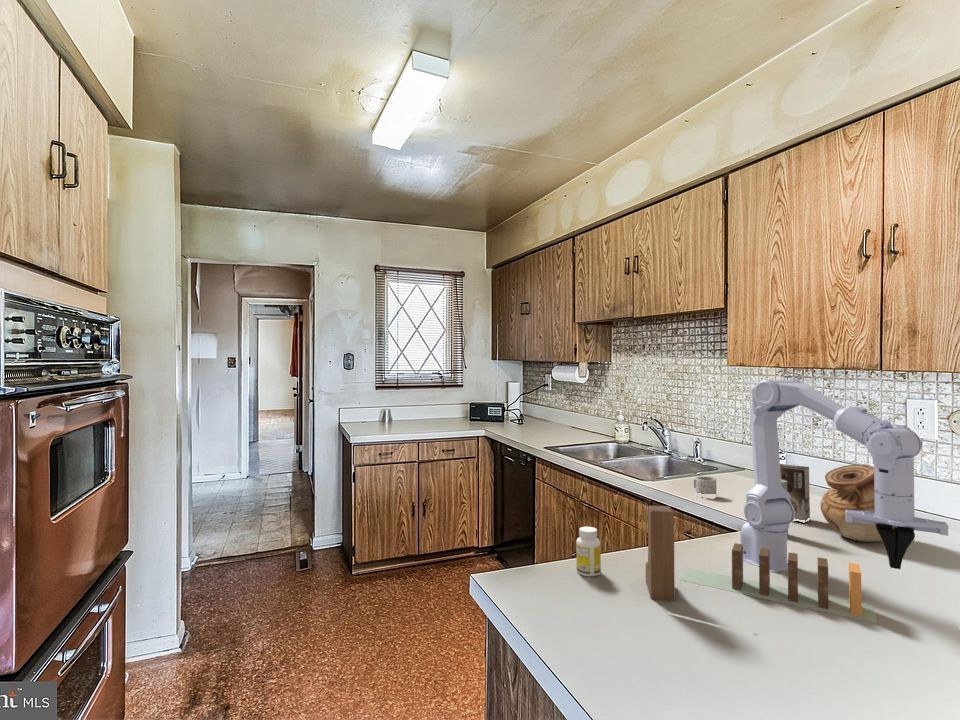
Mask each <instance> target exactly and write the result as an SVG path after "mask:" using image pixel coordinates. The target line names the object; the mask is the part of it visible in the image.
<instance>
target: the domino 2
mask: <svg viewBox="0 0 960 720" xmlns="http://www.w3.org/2000/svg"><path fill="white" fill-rule="evenodd" d="M758 573H759V574H758V578H759V580H758V582H759V594H760V595H765V596H769V589H770V585H771V583H770V582H771V581H770V580H771V578H770V577H771V576H770V575H771V572H770V549H767V548H761V549H760V553H759V567H758Z"/></svg>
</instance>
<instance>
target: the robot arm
mask: <svg viewBox="0 0 960 720" xmlns="http://www.w3.org/2000/svg"><path fill="white" fill-rule="evenodd" d="M751 401H752V402H751V406H750V409H749V415H750V417H749V418H750V429H751V430H750V433H751V444H752V445H751V447H752V457H753V458H752V461H753V474H754V475H753V476H754V478H753V479H754V485H753V487H751V489H749V490H748V491H747V493H746V494H745V498H746V499H745V500H746V501H745V504H744V506H743V514H744V518H745V519H746V522H745V523H744V524H743V525H742V527H741V530H740V543H739V544H743V562H746V563H749V564H751V565H754V566H755V567H758V568H759V553H760V549H761V548H767V549H770V573H778V572H784V571H788V536H787V529H788V530H789V529H790V524H792V523H793V522H794V521H793V520H794V518H795V510H794V507H793V505H792V503H791V500H790V494H789V493H788V492H787V491H786V490H785V489H784V488H783V487H782V486H781V472H780V464H781V463H780V462H781V460H780V458H781V457H780V448H779V447H780V446H779V433H778V419H779V418H780V417H782V416H783V414H785V413H786V412H787V411H790V410H792V409H795V408H797V407H799V406H803V407H805V408H806V409H809V410H810V411H812V412H815V413H817V414H818V415H820V416H823V417H825V418H827V419H828V420H830V421H833V422H834V425H835V429H836V430H837V431H838V432H841V433H843V434H844V435H846V436H847V437H849V438H851V439H853V440H854V441H857V443H860V444H861V445H863V446H865V448H866V449H867V452H868V453H869V454H870V456H871V458H872V465H873V468H874V497H875V512H871V511H854V510H845V512H846V522H850V523H853V522H857V523H864V524H872V525H875V526H876V528H877V531H878V533H879V534H880V536H881V538H882V543H883V546H884V547H885V551H886V554H887V558H888V565H889V567H890V569H897V570H902V569H901V568H902V562H903V560H904V556H905V554H906V552H907V551H908V548H909V547H910V545H911V544H912V542H913V541H914V540H915V537H916V533H915V531H916V532H924V533H925V532H926V533H930V534H931V533H932V534H939V535H941V536H949V525H948V523H947V522H945V521H941V520H934V519H928V518H922V517H918V516H917V517H916V516H915V457H916V456H918V454H920V452H921V450H922V447H923V446H922V439H921V438H920V436H918V434H917V433H916V432H915V431H913V430H912V429H910V427H907V426H893V425H892V422H891V421H889V420H887V419H883V420H882V419H881V418H878V417H877V416H875V415H874V414H871V413H869V412H868V408H865V407H864V406H853V405H852V406H848V407H844V406H842V405H841V404H839V403H838V402H837V401H834V400H833V399H831V398H829V397H828V396H826V395H824V394H823V393H821V392H819V391H817V390H816V389H814V388H813V387H811V385H810V384H809V383H806V382H803V381H801V380H800V379H796V378H790V379H769V378H767V379H766V378H765V379H764V378H763V379H761V380H759V381H758V382H757V383H756V384H755V385H754V386H753V387H752V388H751ZM892 527H894V529H893V528H892Z"/></svg>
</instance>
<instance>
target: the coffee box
mask: <svg viewBox="0 0 960 720" xmlns="http://www.w3.org/2000/svg"><path fill="white" fill-rule="evenodd" d="M780 472H781V480H786V481H787V492H788V493H789V494H790V500H791V503H792V505H793V507H794V510H795V519H799V520H805V521H806V520H807V519H808V518H809V517H810V518H811V505H810V503H811V502H810V499H811V498H810V467H809V466H805V465H803V466H802V465H795V464H785V463H780Z"/></svg>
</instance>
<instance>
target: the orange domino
mask: <svg viewBox="0 0 960 720" xmlns="http://www.w3.org/2000/svg"><path fill="white" fill-rule="evenodd" d="M848 601H849V606H850V612H851V614H852V615H857V616H861V617H862V604H861V603H862V571H861V567H860V564H859V563H852V562H848Z"/></svg>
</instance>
